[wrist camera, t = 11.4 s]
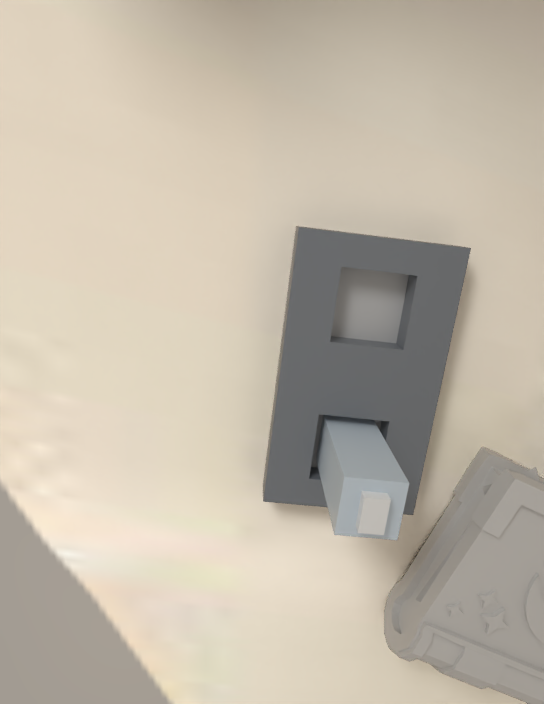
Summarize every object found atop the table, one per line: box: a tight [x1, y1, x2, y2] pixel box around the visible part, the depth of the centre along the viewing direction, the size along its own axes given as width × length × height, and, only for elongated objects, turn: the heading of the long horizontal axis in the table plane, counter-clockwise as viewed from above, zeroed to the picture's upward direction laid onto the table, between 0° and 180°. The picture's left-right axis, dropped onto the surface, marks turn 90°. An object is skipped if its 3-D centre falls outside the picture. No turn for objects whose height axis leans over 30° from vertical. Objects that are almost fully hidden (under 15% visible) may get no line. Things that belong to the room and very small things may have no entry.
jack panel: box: [263, 226, 471, 515], centre depth 39 cm, size 21×12×2 cm, turn 173°
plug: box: [316, 415, 409, 540], centre depth 36 cm, size 4×4×11 cm
